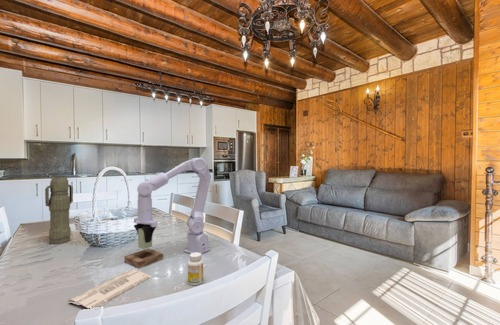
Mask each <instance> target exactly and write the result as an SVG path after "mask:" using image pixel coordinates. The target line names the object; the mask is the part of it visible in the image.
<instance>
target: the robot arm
mask: <svg viewBox="0 0 500 325" xmlns="http://www.w3.org/2000/svg"><path fill="white" fill-rule="evenodd" d="M208 164H209V163H207V162H206V160H205V159H204V158H202V157H193V158H191V159H188V160H187V161H184V162H181V163H180V164H178V165H177V166H175V167H174V168H172V169H170V170H168V171H167V172H156V173H155V175H154V176H151V177H150V178H145V181H143V182H140V183H139V184H138V186H137V189H136V191H137V193H138V195H137V217H134V218H133V223H134V225H133V227H134V228H135V230H136V233H137V234H138V229H139V228H142V229H143V232H144V236H145V242H146V243H148V242H151V239H152V240H153V235H154V232H155V230H156V228H157V226H158V222H157V221H156V220H154V219H153V199H152V193H153V192H154V191H157V190H159V189H160V188H162V187H164V186H166V185H167V184H169V181H170V179H172V178H174V177H176V176H177V175H180V174H181V173H183V172H185V171H187V172H188V171H193V172H194V173H195V174H196V176H197V177H198V178H199V179H198V180H199V181H198V186H197V188H196V193H195V199H194V201H193V208H192V211H191V213H190V215H189V218H187V221H186V226H187V228H188V230H187V232H186V233H187V248H186V249H184V250H183V252H184V253H188V254H189V255H190V254H191V253H195V252H198V253H201V255H202V254H204V253H206V252H209V251H210V249H209V238H208V234H206V233H204V228H205V223H204V219H205V218H204V210H205V205H206V201H207V197H208V192H209V187H210V183H211V179H212V175H211V173H210V169H209V165H208Z"/></svg>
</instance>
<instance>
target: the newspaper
mask: <svg viewBox="0 0 500 325" xmlns="http://www.w3.org/2000/svg"><path fill="white" fill-rule="evenodd" d="M150 278H152V276H151V275H149V274H148V273H145V272H143V271H141V270H136V269H129V270H126V271H123V272H122V273H120V274H117V275H116V276H114V277H112V278H110V279H109V280H106V281H104V282H102V283H100V284H99V285H97V286H94V287H93V288H91V289H89V290H87V291H85V292H83V293H81V294H79V295H76V296H74V297H72V298H71V299H69V300H67V302H78V303H80V304H81V305H82V306H83V307H85V308H87V309H89V308H95V307H99V308H101V307H102V306H100V304H103V303H106V302H108V301H109V302H111V301H113V300H115V299H116V298H118V297H120V296H121V295H124V294H125V293H126V292H128V291H130V290H133V288H135V287H137V286H139V285H141V284H143V283H144V282H146V281H147V280H149V279H150ZM114 298H115V299H114ZM112 299H113V300H112ZM110 300H111V301H110ZM109 302H108V303H109ZM106 304H107V303H106ZM98 305H99V306H98Z"/></svg>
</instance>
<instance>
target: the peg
mask: <svg viewBox="0 0 500 325" xmlns="http://www.w3.org/2000/svg"><path fill="white" fill-rule="evenodd" d="M137 237H138V238H137V240H138V241H137V242H138V246H137V248H140V249H142V250H145V249H148V248H151V247H152V246H153V238H152V239H151V242H148V243H146V242H145V236H144V232H143V229H142V228H139V229H138V233H137Z"/></svg>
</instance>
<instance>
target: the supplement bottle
mask: <svg viewBox="0 0 500 325" xmlns="http://www.w3.org/2000/svg"><path fill="white" fill-rule="evenodd" d="M203 281H204V259H202V254H201V253H198V252H195V253H191V254H190V253H189V260H188V262H187V283H188V284H189V285H191V286H198V285H200V284H202V283H203Z"/></svg>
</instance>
